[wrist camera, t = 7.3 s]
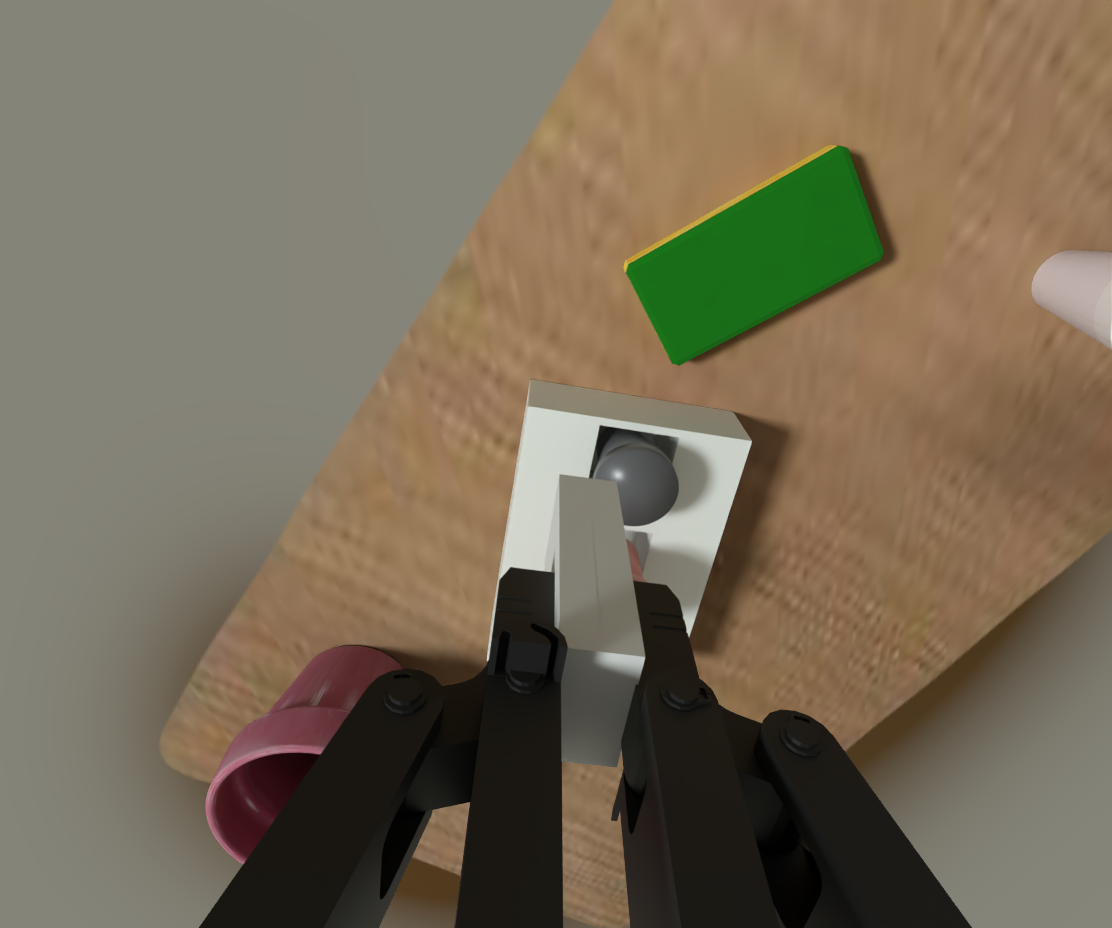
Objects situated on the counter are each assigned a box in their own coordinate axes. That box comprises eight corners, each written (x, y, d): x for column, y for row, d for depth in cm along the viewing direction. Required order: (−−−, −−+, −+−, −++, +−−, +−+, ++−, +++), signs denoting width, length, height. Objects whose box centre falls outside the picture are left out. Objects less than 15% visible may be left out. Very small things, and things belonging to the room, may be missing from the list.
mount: (732, 411, 47) (752, 441, 43) (664, 639, 56) (674, 684, 51) (530, 379, 46) (528, 406, 41) (492, 617, 55) (486, 660, 50)
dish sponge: (869, 251, 43) (886, 258, 41) (668, 357, 46) (674, 368, 44) (830, 142, 40) (846, 142, 38) (620, 261, 43) (623, 268, 41)
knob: (671, 419, 45) (688, 458, 40) (654, 486, 47) (667, 531, 42) (596, 407, 45) (603, 445, 39) (582, 475, 47) (586, 519, 42)
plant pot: (479, 697, 58) (461, 837, 47) (360, 770, 62) (316, 916, 50) (358, 588, 53) (305, 714, 42) (236, 675, 57) (157, 812, 45)
